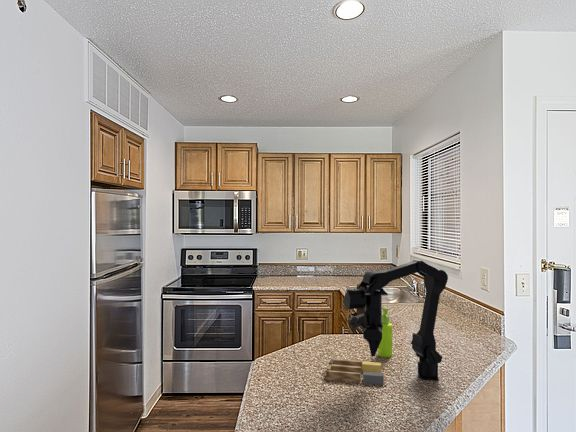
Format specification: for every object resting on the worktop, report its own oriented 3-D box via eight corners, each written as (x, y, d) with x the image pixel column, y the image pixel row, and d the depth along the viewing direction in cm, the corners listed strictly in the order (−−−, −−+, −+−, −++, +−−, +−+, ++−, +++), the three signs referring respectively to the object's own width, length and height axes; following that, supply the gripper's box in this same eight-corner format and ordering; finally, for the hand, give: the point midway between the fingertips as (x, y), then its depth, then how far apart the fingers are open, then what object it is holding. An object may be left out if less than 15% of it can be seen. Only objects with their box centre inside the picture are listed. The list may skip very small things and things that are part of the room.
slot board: (362, 369, 159) (362, 360, 159) (360, 382, 146) (360, 373, 146) (331, 366, 162) (331, 357, 162) (326, 379, 148) (326, 370, 149)
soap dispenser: (379, 351, 181) (379, 305, 182) (394, 354, 177) (394, 307, 177) (373, 354, 177) (373, 307, 177) (388, 358, 172) (388, 309, 173)
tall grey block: (383, 382, 147) (383, 373, 147) (383, 385, 144) (383, 376, 144) (363, 380, 148) (363, 371, 148) (363, 384, 145) (363, 374, 145)
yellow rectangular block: (381, 371, 158) (381, 362, 158) (381, 374, 155) (381, 365, 155) (362, 369, 159) (362, 361, 159) (362, 372, 156) (362, 363, 156)
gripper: (352, 301, 158) (352, 343, 157) (348, 312, 139) (348, 358, 139) (382, 303, 155) (382, 345, 155) (382, 313, 137) (382, 361, 137)
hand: (373, 352), depth 146 cm, fingers open, 9 cm apart
